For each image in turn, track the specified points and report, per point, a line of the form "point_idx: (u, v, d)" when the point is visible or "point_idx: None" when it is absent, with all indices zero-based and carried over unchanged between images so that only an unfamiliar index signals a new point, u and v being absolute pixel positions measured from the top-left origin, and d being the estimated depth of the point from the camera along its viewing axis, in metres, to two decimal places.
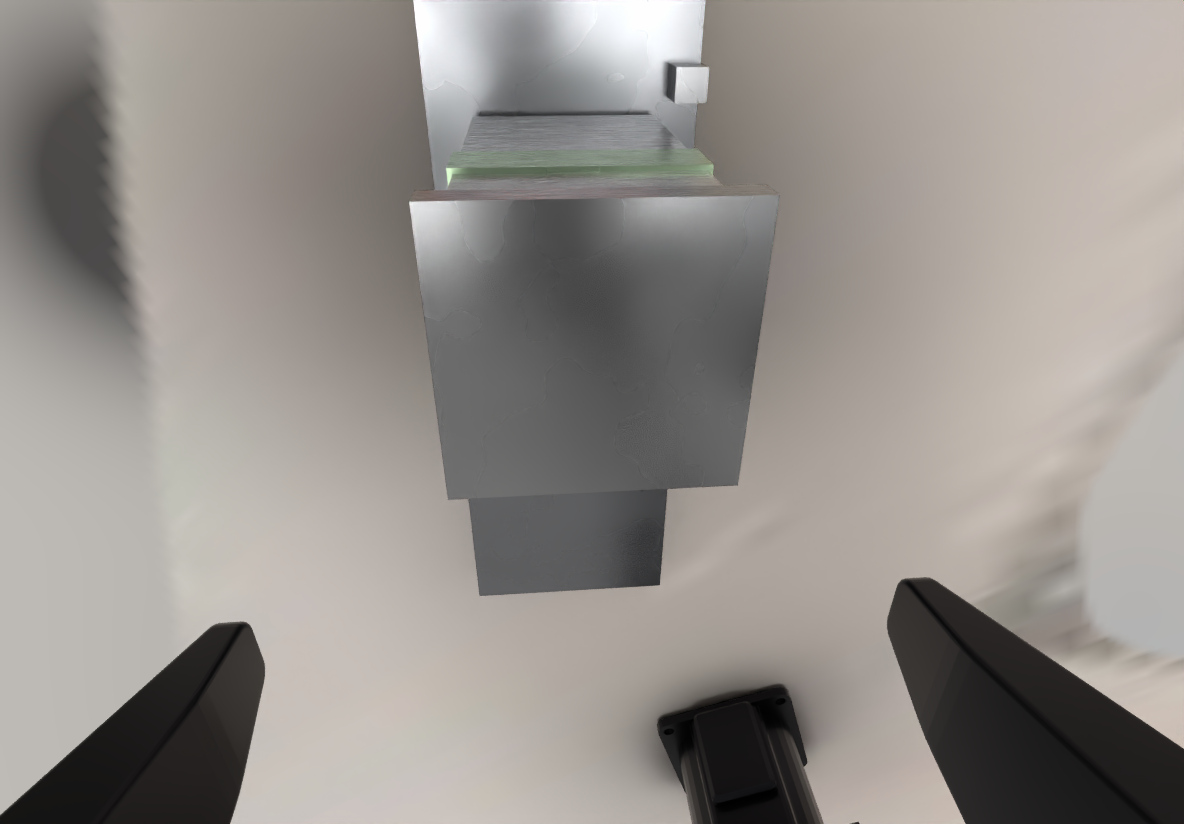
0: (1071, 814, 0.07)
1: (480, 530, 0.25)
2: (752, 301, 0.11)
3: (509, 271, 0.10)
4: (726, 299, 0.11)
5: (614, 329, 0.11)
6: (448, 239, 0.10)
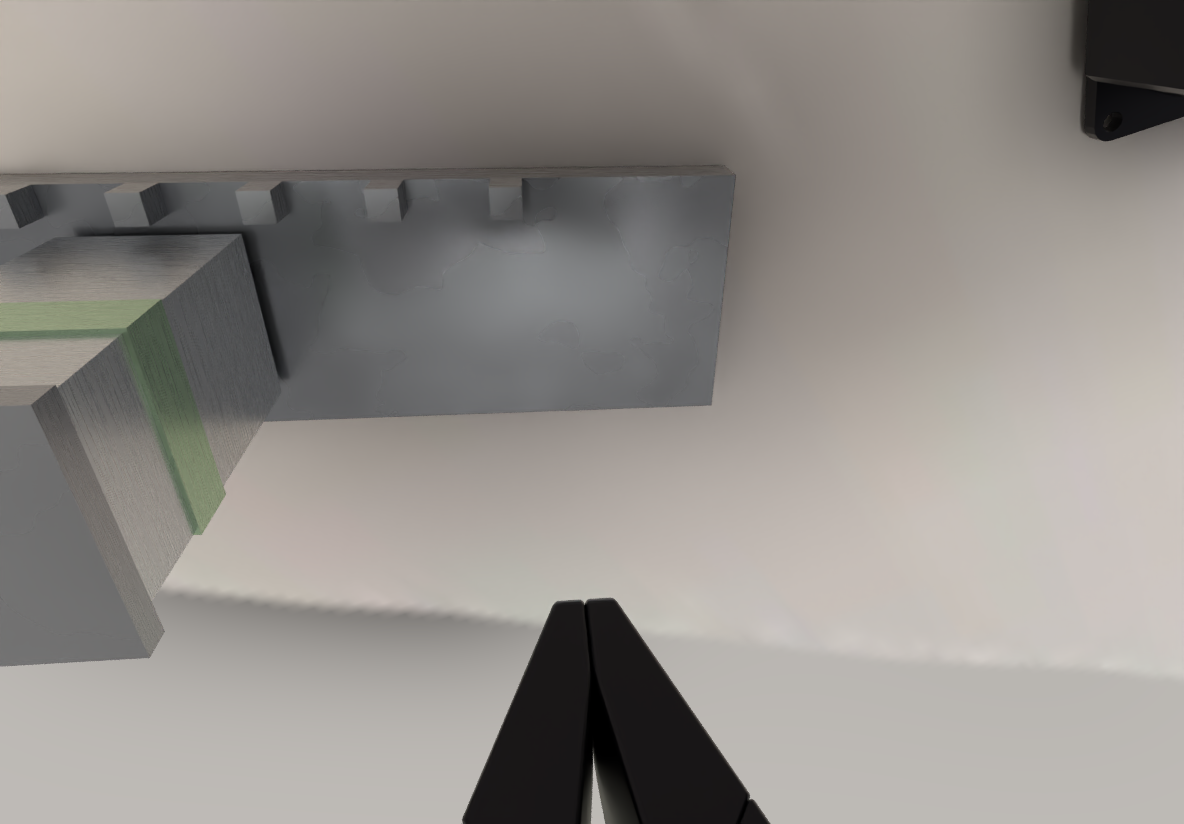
0: None
1: (607, 400, 0.22)
2: None
3: None
4: None
5: None
6: None
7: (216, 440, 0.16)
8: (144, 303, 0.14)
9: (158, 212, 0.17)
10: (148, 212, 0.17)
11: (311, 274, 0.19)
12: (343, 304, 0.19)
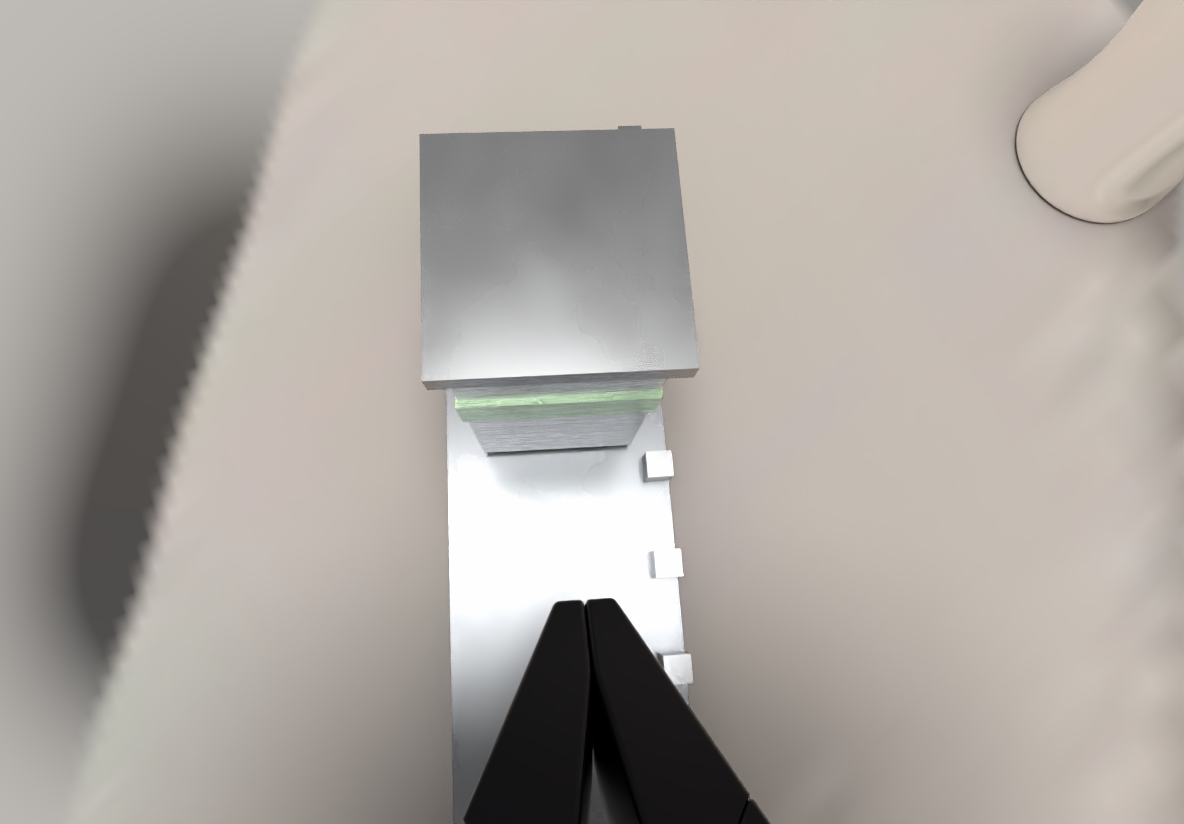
0: None
1: (463, 782, 0.20)
2: (672, 198, 0.14)
3: (486, 178, 0.14)
4: (651, 197, 0.14)
5: (567, 220, 0.14)
6: (443, 157, 0.14)
7: (510, 420, 0.18)
8: None
9: None
10: None
11: (593, 492, 0.22)
12: (566, 515, 0.22)
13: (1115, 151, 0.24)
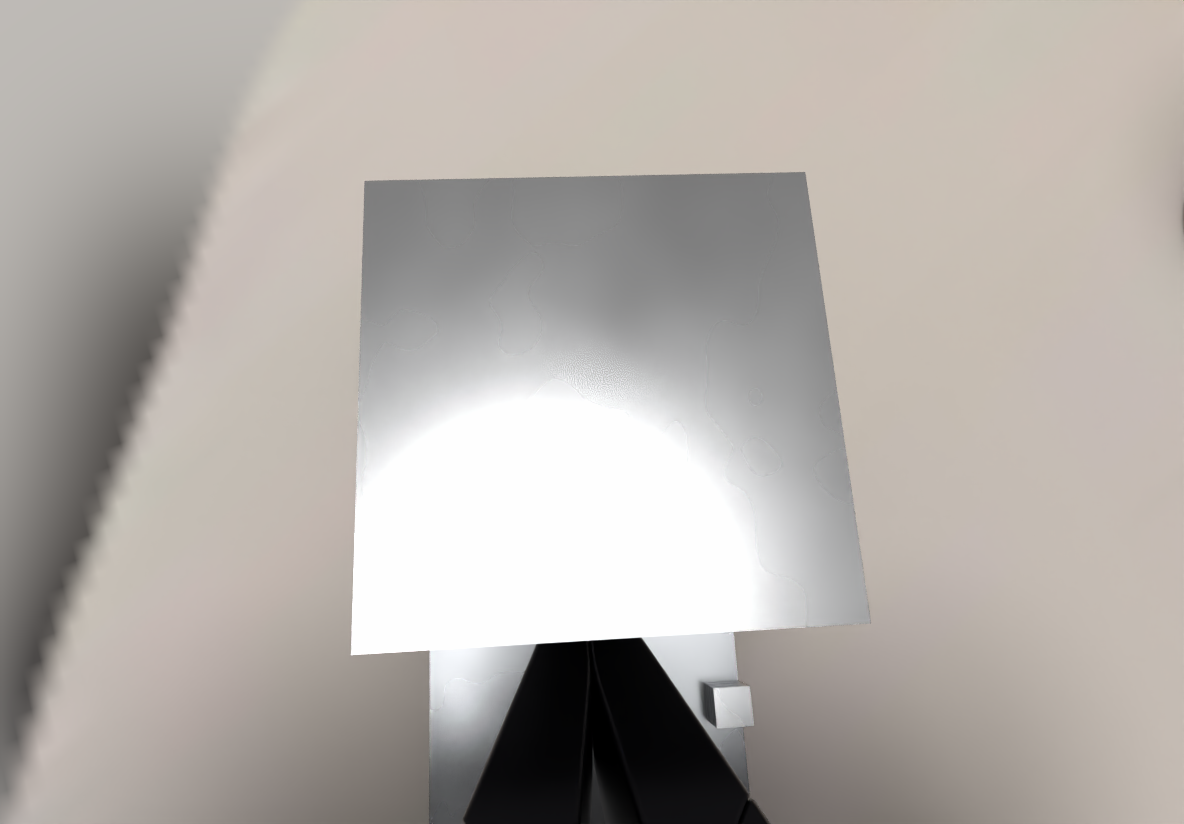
0: None
1: None
2: (807, 298, 0.08)
3: (480, 259, 0.08)
4: (771, 294, 0.08)
5: (623, 336, 0.08)
6: (406, 221, 0.08)
7: None
8: None
9: None
10: None
11: None
12: None
13: None
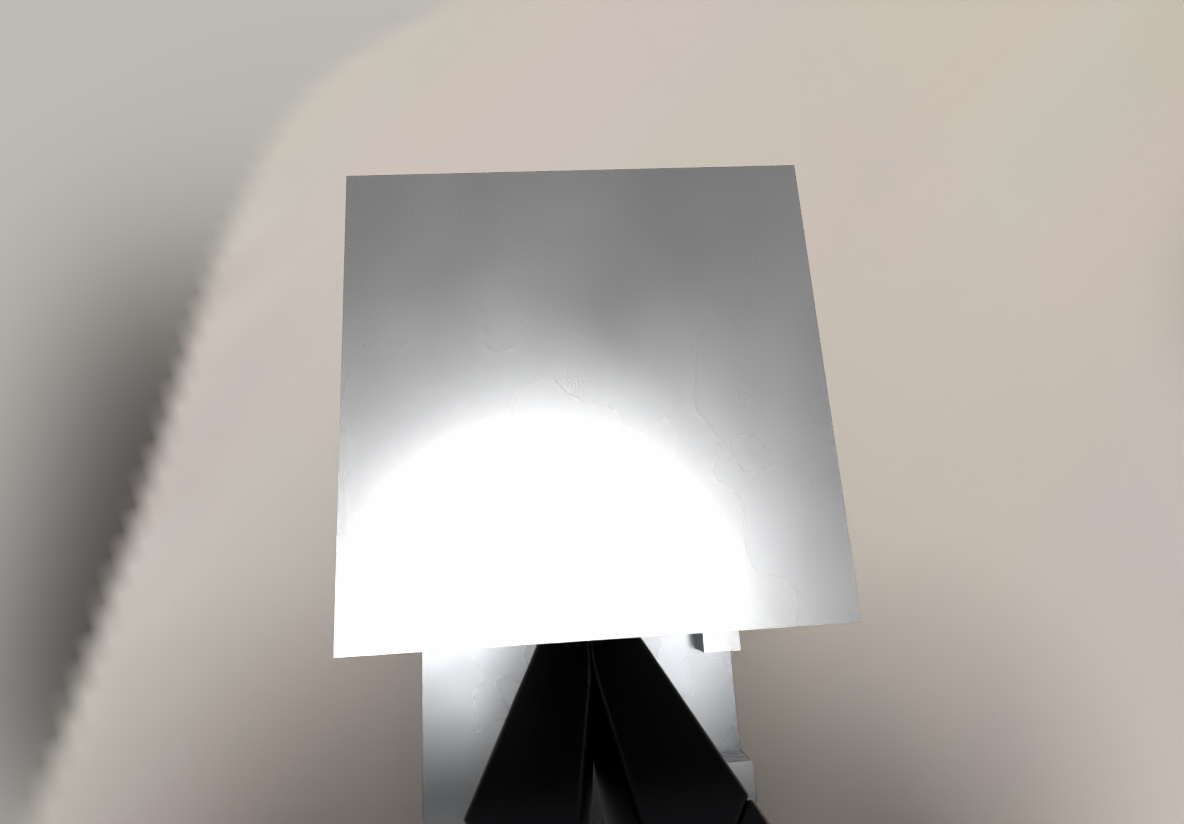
0: None
1: None
2: (796, 292, 0.08)
3: (464, 255, 0.08)
4: (759, 289, 0.08)
5: (610, 332, 0.08)
6: (388, 217, 0.08)
7: None
8: None
9: None
10: None
11: None
12: None
13: None
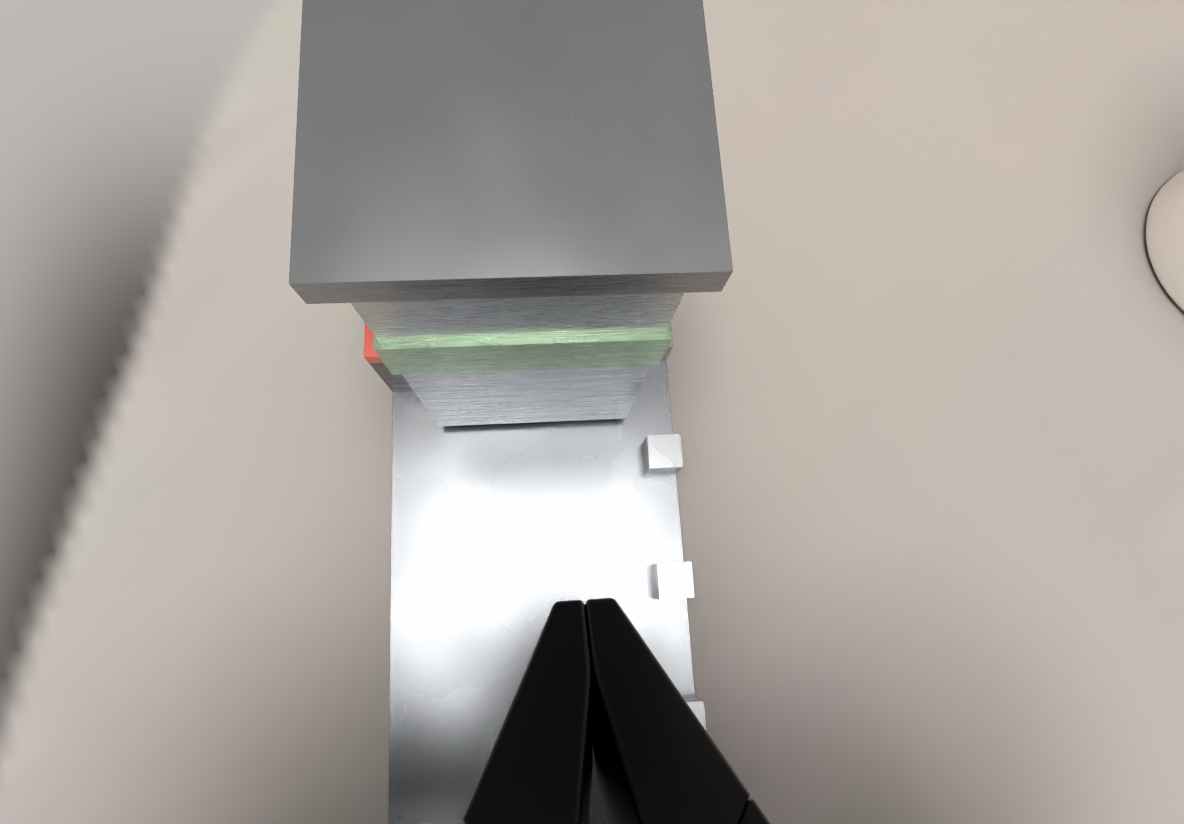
0: None
1: None
2: (690, 21, 0.09)
3: None
4: (659, 18, 0.09)
5: (529, 47, 0.09)
6: None
7: (461, 375, 0.13)
8: None
9: None
10: None
11: None
12: None
13: None
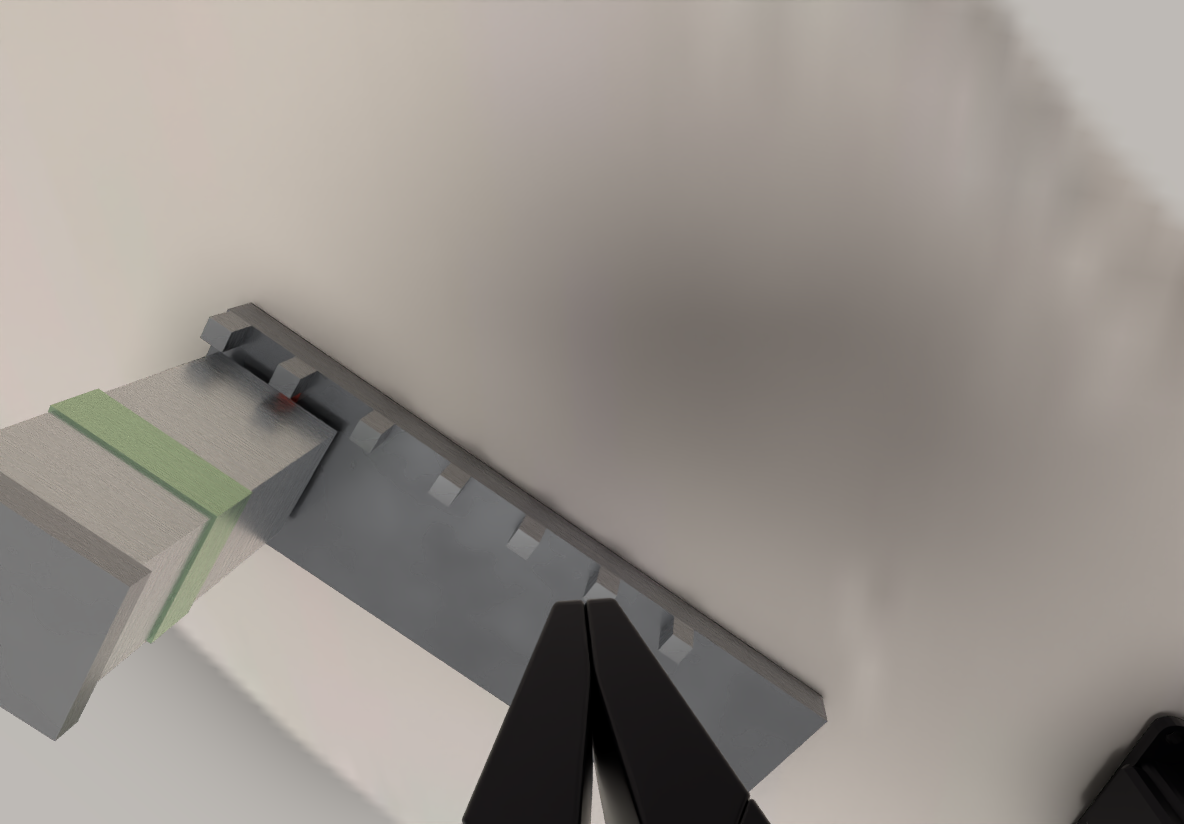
0: None
1: None
2: None
3: None
4: None
5: None
6: None
7: (211, 574, 0.20)
8: (240, 491, 0.18)
9: (457, 495, 0.23)
10: None
11: (513, 582, 0.24)
12: (517, 610, 0.24)
13: None
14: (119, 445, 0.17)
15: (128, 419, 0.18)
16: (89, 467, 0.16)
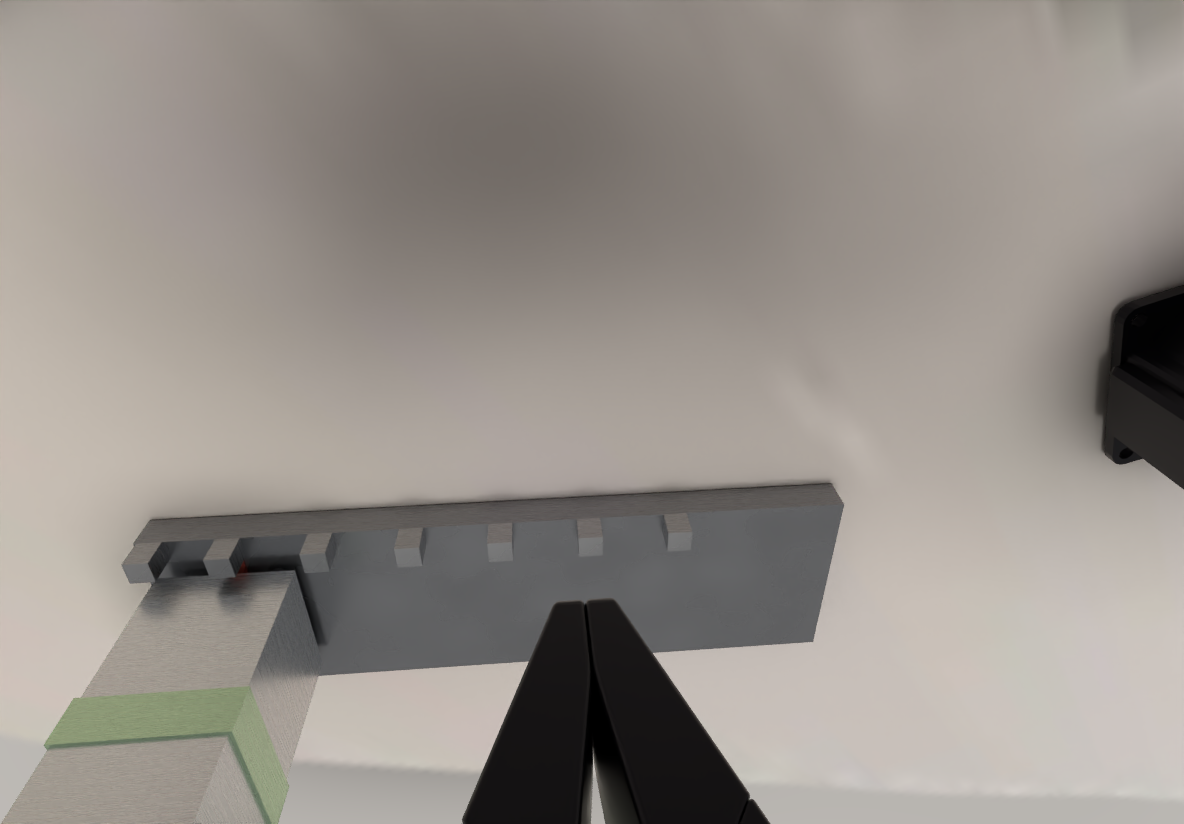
0: None
1: (733, 642, 0.28)
2: None
3: None
4: None
5: None
6: None
7: (282, 749, 0.22)
8: (239, 693, 0.19)
9: (423, 550, 0.24)
10: (421, 555, 0.23)
11: (523, 575, 0.25)
12: (543, 592, 0.26)
13: None
14: (118, 734, 0.18)
15: (113, 705, 0.19)
16: (106, 771, 0.17)
